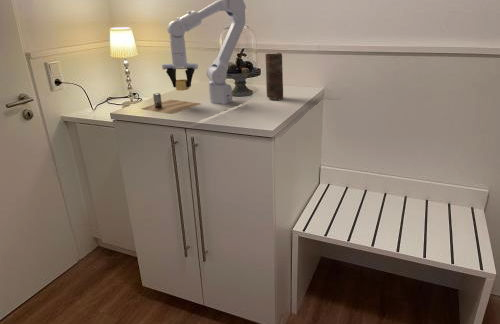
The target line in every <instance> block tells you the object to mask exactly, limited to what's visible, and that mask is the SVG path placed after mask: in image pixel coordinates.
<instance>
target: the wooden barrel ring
mask: <svg viewBox="0 0 500 324" xmlns="http://www.w3.org/2000/svg"><path fill="white" fill-rule="evenodd" d="M174 88H175V90H176V91H179V92H180V91H188V90H190V87H188V85H187V78H186V79H185V78H183V79H176V81H175V87H174Z"/></svg>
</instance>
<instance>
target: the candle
mask: <svg viewBox="0 0 500 324" xmlns="http://www.w3.org/2000/svg"><path fill="white" fill-rule="evenodd" d="M283 77H284V76H283V53H282V52H277V53H265V82H266V83H265V84H266V85H265V86H266V98H268V99H270V100H273V101H280V100H279V99H281V100H282V99H284V79H283Z"/></svg>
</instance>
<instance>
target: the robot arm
mask: <svg viewBox="0 0 500 324" xmlns="http://www.w3.org/2000/svg"><path fill="white" fill-rule="evenodd" d="M246 7H247V6H246V3H245V2H244V0H215V1H214V2H213V3H210V4H209V5H207V6H206V7H204V8H202V9H201V10H199V11H195V10H188V11H186V13H187V14H184V15H183V16H181V17H179V16H178V17H176V20H172V21H170V22H169V24H168V25H167V32H168V34H169V40H170V41H169V43H170V52H171V61H172V63H163V64H162V65H161V67H162V70H166V74H167V76H168V77H169V79H170V82H171V83H172V87H173V88H176V87H175V81H176V80H177V70H184V72H185V77H186V80H187V85H188V87H189V88H191V87H192V79H193V75H194V73H195V70H198V69H199V63H191V62H190V63H189V62H188V59H187V49H186V41H185V34H186V32H187V33H188V32H189V31H191V30H193V29H195V28H197V27H199V26H200V25H201V24H202V20H205V18H208V17H210V16H212V15H214V14H215V13H218V12H226V14H227V15H228V17H229V19H230V21H231V24H230V25H229V29H228V30H227V33H226V36H225V37H224V40H223V42H222V45H221V47H220V49H219V52H218V55H217V56H216V58H215V59H214V60H213V62H212V64H211V65H210V66H209V67H208V68H207V69H206V76H207V78H208V79H209V81H208V91H209V92H208V93H209V103H210V104H219V105H227V104H229V103H231V102H233V89H232V88H233V87H232V86H231V84H229V83H227V81H226V80H227V73H228V70H229V63H230V59H231V57H232V56H233V53H234V50H235V49H236V46H237V43H238V41H239V39H240V36H241V35H242V32H243V30H244V28H245V26H246Z"/></svg>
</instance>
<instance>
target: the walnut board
mask: <svg viewBox="0 0 500 324" xmlns="http://www.w3.org/2000/svg"><path fill="white" fill-rule="evenodd" d="M200 105H201V103H199V102H198V103H197V102H193V101H192V102H191V101H186V100H177V99H167V100H164V101H162V107H161V108H155V105H154V104H152V105H148V106H146V107H142V108H141V107H140V110H145V111H150V112H151V111H152V112H157V113H164V114H169V115H173V114H178V113H180V112H182V111H185V110H189V109H190V108H193V107H196V106H200Z"/></svg>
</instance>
